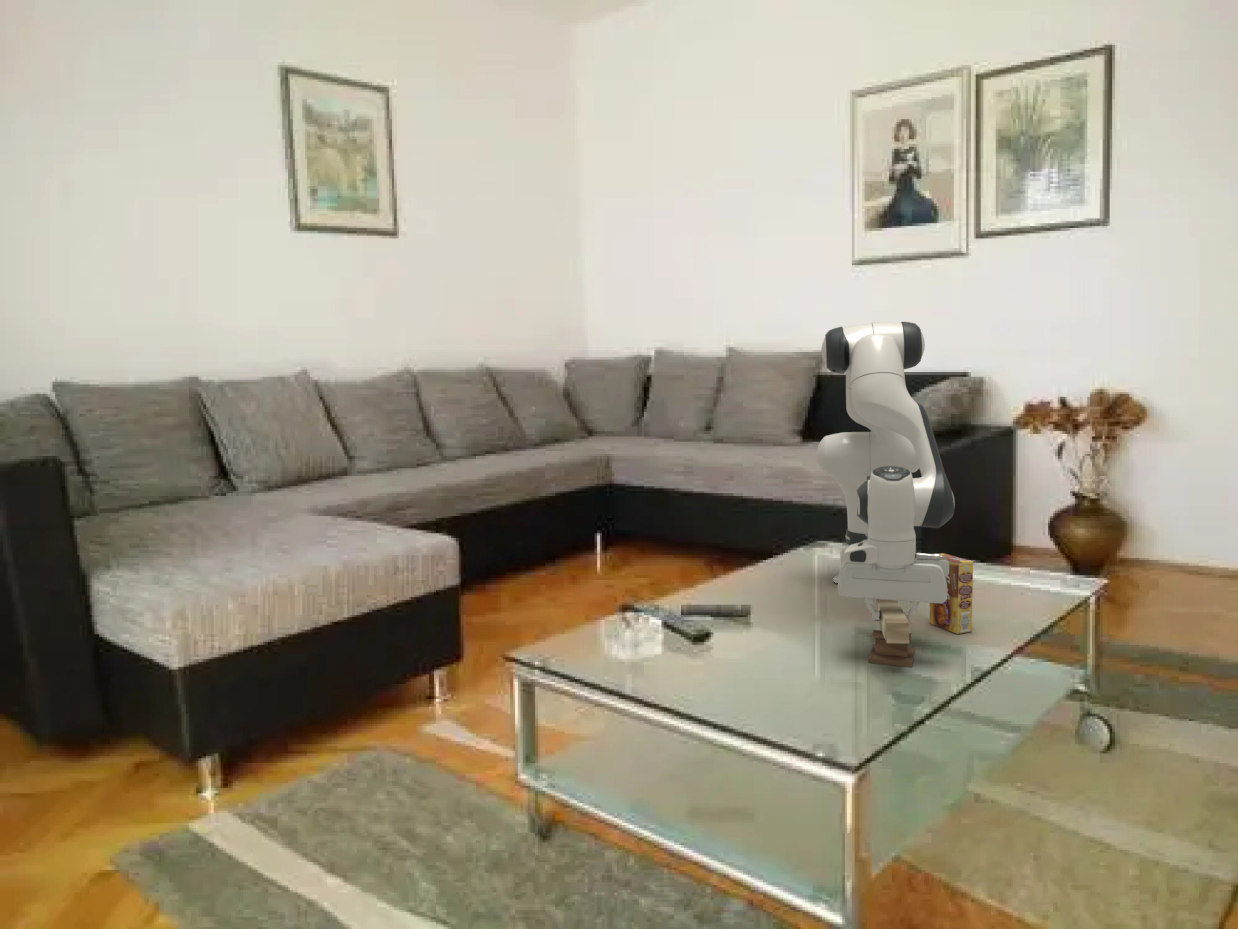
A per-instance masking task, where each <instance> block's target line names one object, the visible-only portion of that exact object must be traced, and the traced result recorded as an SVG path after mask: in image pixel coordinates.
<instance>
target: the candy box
mask: <svg viewBox="0 0 1238 929" xmlns="http://www.w3.org/2000/svg"><path fill="white" fill-rule="evenodd" d="M939 554H940V555H941V556H943V557H945V558H946V559H947V560H948V561H949V574H948V576H947V577H946V581H947V600H946V601H945V602H944V603H929V620H928V621H929V624H931V625H934V626H936V627H939V628H941V629H943V630H946V631H949V632H951V633H954V634H957V635H960V634H967V633H971V632H972V631H973V630H972V629H973V628H972V627H973V622H972V621H973V597H974V596H973V590H974V589H973V587H974V586H973V584H974V583H973V582H974V580H973V579H974V561H973V560H969V559H966V558H962V557H959V556H958V557H957V556H955V555H951V554H947V553H945V552H944V553H943V552H942V553H939ZM941 560H944V559H942V558H941Z"/></svg>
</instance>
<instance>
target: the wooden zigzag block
mask: <svg viewBox="0 0 1238 929" xmlns="http://www.w3.org/2000/svg"><path fill="white" fill-rule="evenodd" d="M875 606H876V607H875V609H876V610H880V621H877V624H878V626H879V628H880V631H882V633H883V635H884V638H885V640H886V642H887V643H909V644H910V641H909V633H910V623H909V621H908V619H907V618H906V616H905V614H904V612H905V611H904V610H903V609H902V606H901V604H900V603H899V601H897V600H882V599H875Z"/></svg>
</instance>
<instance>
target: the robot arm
mask: <svg viewBox="0 0 1238 929" xmlns="http://www.w3.org/2000/svg"><path fill="white" fill-rule="evenodd" d="M925 344H926V343H925V338H924V334H923V332H922V329H921V328H920V326H918V324H917V323H915V322H910V321H901V322H892V321H891V322H886V321H885V322H884V321H883V322H881V321H880V322H871V323H864V324H855V325H850V326H845V327H843V326H839V327H834V328H832V329H830V330H828V331H827V332H826V334H825V336H824V338H823V341H822V345H821V356H822V360H823V362H824V364H825V367H826V369H827V370H829V372H831V373H835V374H841V375H844V374H845V403H846V404H845V408H846V413H847V414H848V416H849V417H850V419H852V421H854V422H855V423H856V424H859V425H861V426H863V427H866V428H867V429H868V430H870V431H851V432H850V431H849V432H847V431H846V432H845V431H843V432H839V433H837V432H836V433H832V434H829V435H825V436H823V438H822V439H821V440H820V442H819V443H818V446H817V448H816V460H817V463H818V466H819V467H820V469H822V471H823V472H824V473H825V474H827V475H829V476H830V477H831V478H832V479H833V480H834V481H835V482H836V483H837V485H838V486H839V487H840V489H841V491H842V493H843V496H844V499H845V504H846V505H845V506H846V515H847V529H845V530H846V531H845V543H846V546H845V547H843V548H842V549H841V550H840V553H839V573H838V574H836V576H834V577H833V578H832V582H833V581H834V582H835V583H834V582H833V583H834V584H837V583H838V584H837V593H838V594H839V595H840V597H842V598H852V599H853V598H854V599H855V598H857V599H865V605H866V606H867V608H868V610H869V611H870V613H871V621H873V622H878V621H880V610H876V607H875V605H874V602H875V600H876V599H882V600H897V601H898V602H909V606H910V608H909V610H908V612H907V611H903V612H904V614H905V616H906V618H907V619H908V621H909V625H910V624H913V615H914V613H915V612H916V611H917V609H918V606H919V603H928V604H930V603H944V602H945V601H946V600H947V581H946V577H947V576H948V574H949V561H948V560H947V559H946V558H945V557H943V556H941V555H940V553H925V552H923V553H922V552H916V551H917V546H916V544H917V542H916V539H917V536H916V531H915V527H921V528H931V529H932V528H933V529H939V528H941V527H942V526H944V525H945V524H947V522H949V521H950V519H952V518H953V516H954V514H955V503H956V502H955V496H954V493H953V490H952V488H951V485H950V482H949V480H948V477H947V475H946V472H945V468H944V466H943V463H942V458H941V455H940V452H939V448H938V444H937V442H936V438H935V434H934V430H933V428H932V424H931V422H930V418H929V415H928V413H927V412H926V409H925V408H924V406H923V404H921V403H919V402H917V401H915V400H914V398H913V397H912V396H911V394H910V393H909V391H908V388H907V385H906V376H905V370H909V369H911V368H915V367H916V366H918V365H919V363H920V362H921V361H922V357H923V356H924V354H925V353H924V352H925V347H926V345H925ZM918 470H919V471H920V474H921V477H915V478H914V477H913V474H912V473H916V472H917V471H918ZM867 477H869V479H867ZM941 558H942V559H944V560H941Z"/></svg>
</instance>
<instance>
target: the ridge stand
mask: <svg viewBox="0 0 1238 929" xmlns="http://www.w3.org/2000/svg"><path fill="white" fill-rule="evenodd" d="M872 639H874V643H873V644H872V646H871V648H870V652H869V655H868V657H867V658H868V659H867V660H868V661H867V663H868V664H877V665H888V666H897V667H898V666H899V667H908V668H912V667H913V664H914V660H915V655H916V648H915V647H909V644H910V642H911V640H912V633H911V632H909V643H887V642H886V640H885V638H884V635H883V633H882V631H881V629H879V630H878V629H874V630H873V631H872Z"/></svg>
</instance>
